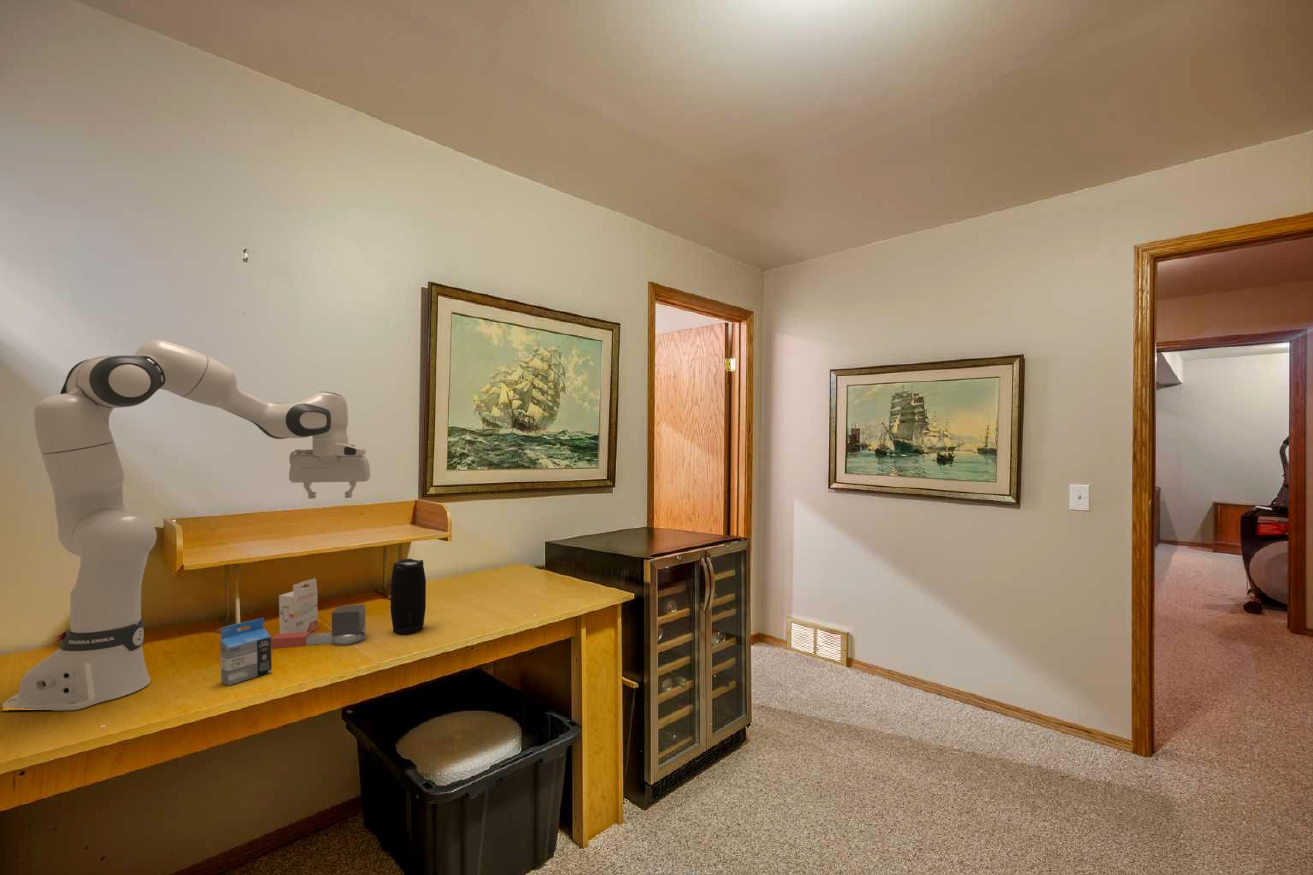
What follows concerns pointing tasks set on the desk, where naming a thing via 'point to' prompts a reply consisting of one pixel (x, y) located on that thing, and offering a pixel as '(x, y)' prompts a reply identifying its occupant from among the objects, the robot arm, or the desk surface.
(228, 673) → the label tape box
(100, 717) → the desk surface
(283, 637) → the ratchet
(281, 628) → the ink cartridge box
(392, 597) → the portable speaker
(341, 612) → the dark grey block
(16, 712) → the desk surface
